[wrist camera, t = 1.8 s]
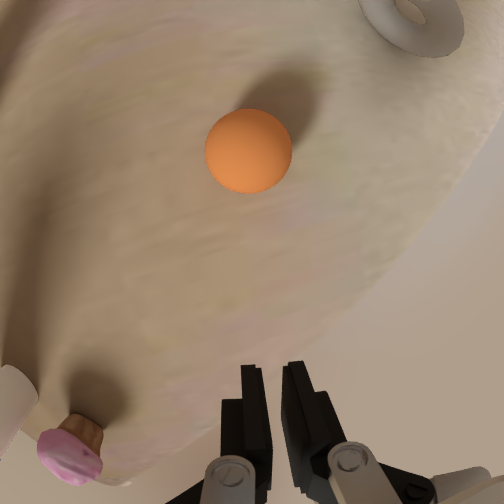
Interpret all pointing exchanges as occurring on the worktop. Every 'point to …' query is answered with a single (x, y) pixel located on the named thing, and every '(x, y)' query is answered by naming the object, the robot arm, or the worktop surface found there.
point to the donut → (418, 26)
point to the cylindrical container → (14, 403)
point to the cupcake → (72, 450)
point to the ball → (248, 151)
